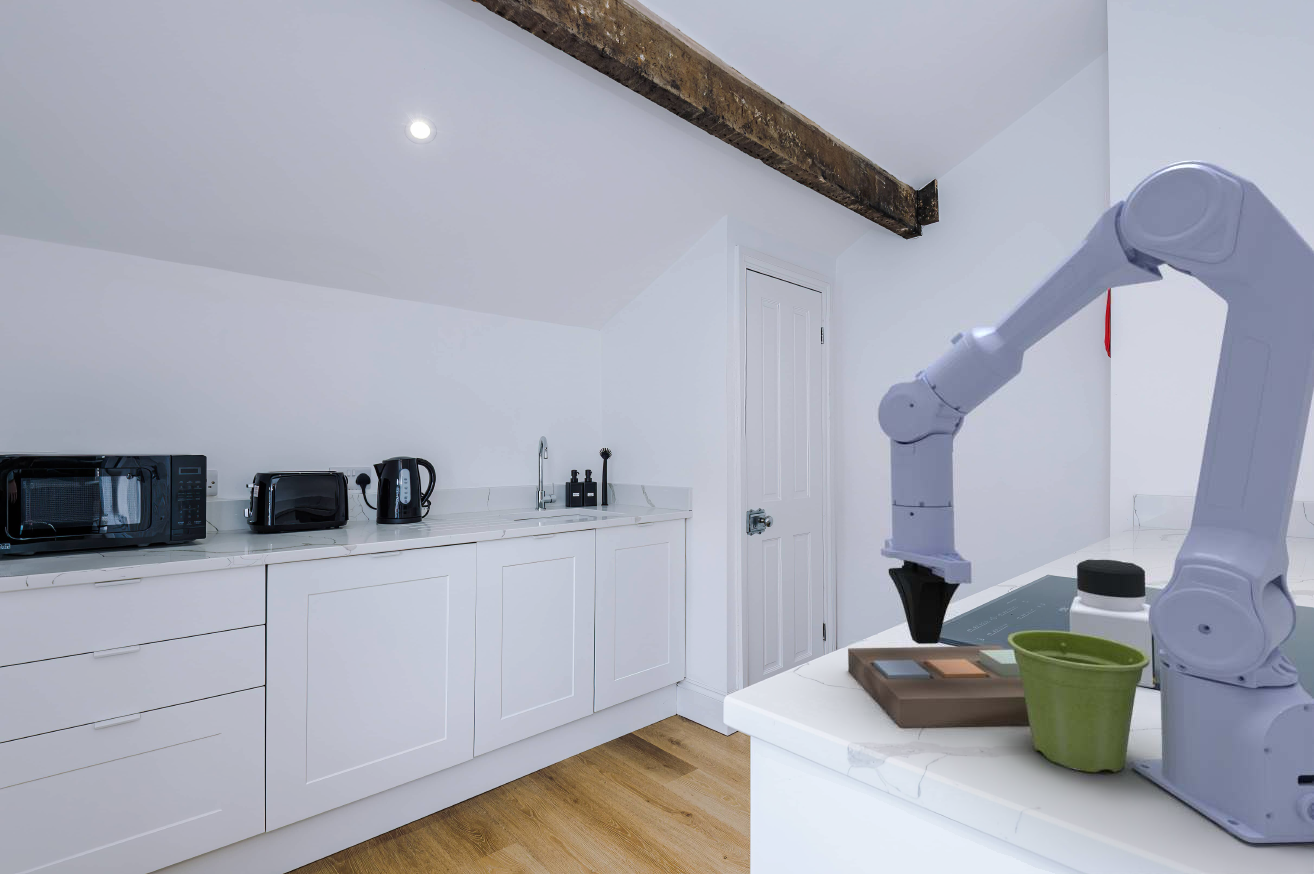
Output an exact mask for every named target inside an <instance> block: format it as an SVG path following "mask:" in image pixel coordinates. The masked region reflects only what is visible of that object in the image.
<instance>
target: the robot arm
mask: <svg viewBox="0 0 1314 874" xmlns="http://www.w3.org/2000/svg"><path fill="white" fill-rule="evenodd" d="M1101 214H1102V213H1101ZM1162 265H1163V266H1164V265H1167V266H1168V267H1170V268H1171V269H1173V270H1175V271H1176V272H1180V273H1182V274H1184V275H1187V276H1190V277H1193V278H1195V279H1197V280H1198V281H1199V282H1201V283H1202V284H1203V285H1204V286H1206V287H1207V288H1208V289H1210V290H1211V291H1213V293H1215V294H1216V295H1218V296H1219V297H1220V298H1221V299H1223V300H1224V301H1225V303H1226V304H1227V311H1226V318H1225V324H1224V329H1223V336H1222V342H1221V347H1220V354H1219V359H1218V364H1217V365H1218V366H1217V371H1216V377H1215V383H1214V388H1213V395H1212V400H1211V406H1210V411H1209V417H1208V424H1207V428H1206V429H1207V430H1206V434H1205V435H1206V436H1205V441H1204V446H1203V455H1202V458H1201V465H1200V471H1199V477H1198V483H1197V489H1196V493H1195V500H1194V507H1193V511H1192V517H1191V523H1190V526H1189V527H1190V528H1189V530H1188V533H1187V535H1186V536H1185V539H1184V540H1183V542H1182V544H1181V547H1180V549H1179V551H1178V553H1177V555H1176V557H1175V561H1174V567H1173V570H1172V574H1171V578H1170V579H1169V581H1168V583H1167V584H1166V585H1165V587H1164V588H1162V590H1160V591H1159V592H1158V593H1157V594H1156V595H1155V597H1154V598H1153V599H1152V601H1151V604H1150V609H1149V625H1150V629H1151V632H1152V634H1153V637H1154V641H1155V642H1156V643H1157V645H1158V646H1159V648H1160V649H1159V650H1158V651H1159V652H1158V653H1159V679H1160V680H1159V682H1160V716H1161V717H1160V720H1161V723H1160V724H1161V725H1160V727H1161V757H1162V759H1135V760H1134V759H1133V760H1131V768H1133V769H1134V770H1135V771H1137V772H1139V773H1140V774H1141V775H1143V776H1144V777H1146V778H1147V779H1149V780H1151V781H1152V782H1154V783H1155V784H1157V785H1158V786H1160V787H1162V788H1163V789H1164V790H1165V791H1168V792H1169V793H1171V794H1172V795H1174V796H1175V797H1177V798H1179V800H1182V801H1183V802H1185V803H1186V804H1188V805H1189V806H1191V807H1192V808H1193V809H1195V810H1197V811H1198V812H1199V813H1201V814H1202V815H1204V816H1206V817H1207V818H1209V819H1210V820H1212V821H1214V822H1215V823H1217V824H1218V825H1219V826H1221V827H1223V828H1224V829H1225V830H1227V831H1228V832H1230V833H1232V834H1233V835H1235V836H1236V837H1238V838H1240V839H1241V840H1243V841H1244V842H1248V843H1250V844H1252V843H1253V844H1271V843H1276V844H1277V843H1280V844H1281V843H1312V842H1314V698H1313V697H1312V696H1311V695H1310V694H1308V693H1307V692H1306V691H1305V689H1304V688H1303V687H1302V686H1301V684H1300V683H1299V681H1298V680H1299V671H1298V669H1297V668H1296V667H1295V666H1293V664H1292V662H1291V661H1290V660H1289V659H1288V657H1287V655H1285V653H1284V652H1283V651H1282V650H1280V647H1279V646H1281V645H1282V644H1285V643H1286V642H1287V641H1288V640H1290V638H1291V637H1292V635H1293V634H1294V633H1295V631H1296V629H1297V628H1298V627H1297V625H1298V621H1299V612H1298V608H1297V604H1296V602H1295V601H1294V598H1293V596H1292V595H1291V592H1290V590H1289V587H1288V580H1287V577H1288V576H1287V575H1288V570H1289V566H1290V561H1289V560H1290V559H1289V552H1288V546H1287V535H1288V529H1289V526H1290V525H1289V523H1290V519H1291V513H1292V508H1293V504H1294V503H1293V502H1294V497H1295V492H1296V486H1297V481H1298V476H1299V470H1300V465H1301V459H1302V455H1303V448H1304V443H1305V437H1306V433H1307V427H1308V422H1309V416H1310V410H1311V405H1312V399H1313V394H1314V249H1313V248H1312V247H1311V245H1309V243H1308V242H1307V241H1306V240H1305V239H1304V237H1303V236H1302V235H1301V234H1300V232H1299V231H1298V230H1297V229H1296V228H1295V227H1294V226H1293V224H1292V223H1291V222H1290V221H1289V220H1288V218H1287V217H1286V216H1285V215H1284V214H1283V213H1282V211H1281V210H1280V209H1279V208H1278V207H1277V206H1275V204H1274V203H1273V202H1272V201H1271V200H1270V199H1269V198H1268V197H1267V196H1266V195H1265V194H1264V193H1263V192H1262V190H1261V189H1260V188H1259V187H1258V186H1257V185H1256V184H1255V183H1254V182H1253V181H1252V180H1250V179H1247V178H1245V177H1243V176H1241V175H1239V174H1237V173H1236V172H1235V173H1234V172H1233V171H1230V170H1228V169H1227V168H1224V167H1222V166H1220V165H1218V164H1215V163H1213V162H1209V161H1205V160H1182V161H1178V162H1174V163H1171V164H1168V165H1165V166H1163V167H1161V168H1159V169H1157V170H1155V171H1153V172H1152V173H1150V174H1149V175H1147V176H1146V177H1145V178H1143V179H1142V180H1141V181H1140V182H1139V183H1138V184H1137V185H1136V186H1135V187H1134V188H1133V189H1132V191H1131V192H1130V193H1129V195H1128V196H1127V198H1126V199H1125V201H1124V200H1123V199H1120V200H1119V201H1118V202H1116V203H1115V204H1113V205H1112V206H1111V207H1109V208H1108V209H1106V210H1105V211H1104V212H1103V214H1102V215H1101V216H1100V217H1099V218H1098V220H1097V221H1096V223H1095V224H1094V225H1093V227H1091V229H1090V231H1088V233H1087V234H1086V236H1085V237H1084V238H1083V239H1082V240H1081V242H1080V243H1079V244H1078V245H1077V246H1075V248H1074V249H1073V250H1071V251H1070V253H1068V254H1067V255H1066V257H1064V258H1063V259H1062V260H1061V261H1060V262H1059V263H1058V264H1057V265H1056V266H1055V267H1054V268H1053V269H1052V270H1051V271H1050V272H1049V273H1048V274H1046V275H1045V277H1044V278H1043V279H1041V281H1040V282H1039V283H1037V284H1036V285H1035V287H1033V288H1032V289H1031V290H1030V291H1029V292H1028V293H1027V294H1026V295H1025V296H1024V297H1023V298H1022V299H1021V300H1020V301H1019V302H1018V303H1017V304H1016V305H1015V306H1014V307H1013V308H1012V309H1010V311H1008V312H1007V313H1006V314H1005V315H1004V317H1002V319H1000V320H999V321H998V322H997V323H996V324H995V325H994V326H977V327H972V328H971V329H969V331H968V332H965V331H959V332H958V333H957V334H956V335H955V336H954V337H952V338H951V339H950V342H951V344H952V346H951V347H950V348H948V350H946V351H945V352H944V353H943V354H942V355H941V356H940V357H938V358H937V360H935V361H934V362H933V363H932V364H931V365H930V366H928V367H927V368H925V369H924V368H921V369H920V370H919V371H918V372H917V373H915V376H914V377H915V379H914V380H913V381H901V382H897V383H894V384H893V385H891V386H889V389H888V390H887V391H886V393H885V394H884V395H883V397H882V398H881V400H880V403H879V406H878V409H877V410H878V411H877V417H878V418H877V419H878V424H879V425H880V426H879V427H880V428H881V430H882V431H883V432H884V434H885V435H886V436H887V437H889V439H890V442H889V443H890V444H889V445H890V480H891V483H890V485H891V487H890V488H891V489H890V490H891V492H890V493H891V530H892V531H891V532H892V533H891V534H892V538H885V539H884V547H882V548H881V549H880V554H881V556H883V557H885V558H890V559H898V560H900V561H902V562H903V565H901V567H890V568H888V575H889V577H890V578H891V580H892V581H893V582H892V583H893V584H894V585H895V588H896V590H897V593H898V594H899V597H900V601H901V603H902V606H903V610H904V614H905V618H906V622H907V627H908V630H909V635H910V637H911V639H912V641H913V642H914V643H916V644H917V645H918V644H919V645H924V644H925V645H927V644H929V645H931V644H939V640H940V637H941V634H942V629H943V625H944V621H945V616H946V614H947V610H948V607H949V604H950V602H951V600H952V598H953V596H954V595H955V592H956V591H957V589H958V588H959V587H960V585H961V584H972V561H970V560H968V559H965V558H964V557H963V556H962V555H961V554H960V553H959V552H958V551H957V549H956V548H955V547H956V546H955V545H956V544H955V509H954V473H953V472H954V468H953V465H954V463H953V462H954V461H953V453H954V439H955V438H956V436H957V435H958V433H960V431H961V429H962V427H963V425H964V422H965V421H964V420H965V417H966V416H967V415H968V414H970V413H971V412H972V411H973V410H975V409H976V408H977V407H978V406H980V405H981V404H982V403H983V402H986V401H987V399H989V398H990V397H991V396H993V395H994V394H995V393H997V391H999V390H1000V389H1002V388H1003V387H1005V385H1007V384H1008V383H1009V382H1010V381H1012V379H1014V378H1016V376H1018V375H1019V374H1020V373H1021V370H1022V369H1023V368H1022V367H1023V362H1024V354H1025V352H1026V351H1027V350H1028V349H1030V348H1031V347H1033V346H1034V345H1035V344H1036V343H1038V342H1040V341H1041V340H1042V339H1043V338H1045V337H1046V336H1048V334H1050V333H1052V332H1053V331H1054V330H1056V329H1057V328H1059V327H1060V326H1061V325H1062V324H1063V323H1065V322H1066V321H1068V320H1069V319H1070V318H1072V317H1074V316H1075V315H1076V314H1078V313H1079V312H1080V311H1081V310H1082V309H1084V308H1085V307H1087V306H1088V305H1089V304H1090V303H1092V302H1093V301H1095V300H1096V299H1098V298H1100V296H1102V295H1103V294H1104V293H1106V292H1107V291H1109V290H1111V289H1113V288H1117V287H1118V288H1120V287H1125V286H1131V285H1138V284H1144V283H1153V282H1159V281H1162V280H1163V279H1164V277H1163V275H1162V272H1161V271H1160V269H1159V266H1162Z"/></svg>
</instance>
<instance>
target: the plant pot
mask: <svg viewBox="0 0 1314 874" xmlns="http://www.w3.org/2000/svg"><path fill="white" fill-rule="evenodd" d="M1007 643H1008V646H1009V647H1011V648H1012V650H1014V655H1015V660H1016V662H1017V664H1018V665H1019V668H1020V673H1021V678H1022V684H1023V690H1024V695H1025V701H1026V707H1027V713H1028V719H1029V725H1028V726H1029V730H1030V736H1031V743H1032V747H1033V748H1034V749H1035V751H1036V752H1037V751H1038V752H1039V751H1040V752H1041V753H1042V754H1043V755H1044V757H1046V758H1047V759H1048V760H1049V761H1051V762H1054V763H1055V764H1058V765H1061V766H1064V767H1068V768H1071V769H1074V770H1078V771H1082V772H1087V773H1088V772H1089V773H1098V772H1100V771H1102V770H1110V771H1111V772H1114V773H1116V772H1119V771H1120V770H1123V768H1124V767H1125V765H1126V759H1127V752H1128V751H1127V750H1128V746H1129V744H1128V743H1129V738H1130V737H1129V736H1130V731H1131V723H1132V717H1133V711H1134V706H1135V705H1134V704H1135V699H1136V692H1137V686H1138V685H1137V684H1138V683H1139V682H1140V681H1141V676H1142V671H1143V668H1145V667H1147V666H1148V665H1149V662H1150V658H1149V656H1148V655H1147V654H1146V653H1145V652H1143V651H1141V650H1139V649H1137V648H1135V647H1132V646H1130V645H1127V644H1124V643H1121V642H1117V641H1113V640H1109V639H1105V638H1101V637H1096V636H1091V635H1085V634H1079V633H1072V632H1070V631H1063V630H1045V629H1043V630H1038V629H1037V630H1036V629H1035V630H1034V629H1033V630H1032V629H1031V630H1022V631H1016V632H1013V633H1011V634H1009V635H1008V636H1007Z"/></svg>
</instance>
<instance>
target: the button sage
mask: <svg viewBox="0 0 1314 874" xmlns="http://www.w3.org/2000/svg"><path fill="white" fill-rule="evenodd" d="M979 655H980V664H981V665H982V666H984V667H985V668H987V669H988V670H990V671H992V672H993V673H995V674H996V675H998V676H999V677H1021V673H1020V668H1019V665H1018V664H1017V662H1016V660H1015V655H1014V650H1013V649H1007V650H979Z"/></svg>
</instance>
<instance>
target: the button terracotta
mask: <svg viewBox="0 0 1314 874" xmlns="http://www.w3.org/2000/svg"><path fill="white" fill-rule="evenodd" d="M927 666H929V667H930V668H931V669H932V670H934V671H935V672H936V673H938V674H939V675H940V676H942V677H943V678H987V675H986V673H985V672H984V671H982V670H981V669H979V668H978V667H976V666H975V665H973V664H972V663H970V662H968V661H967V660H965V659H955V660H927Z"/></svg>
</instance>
